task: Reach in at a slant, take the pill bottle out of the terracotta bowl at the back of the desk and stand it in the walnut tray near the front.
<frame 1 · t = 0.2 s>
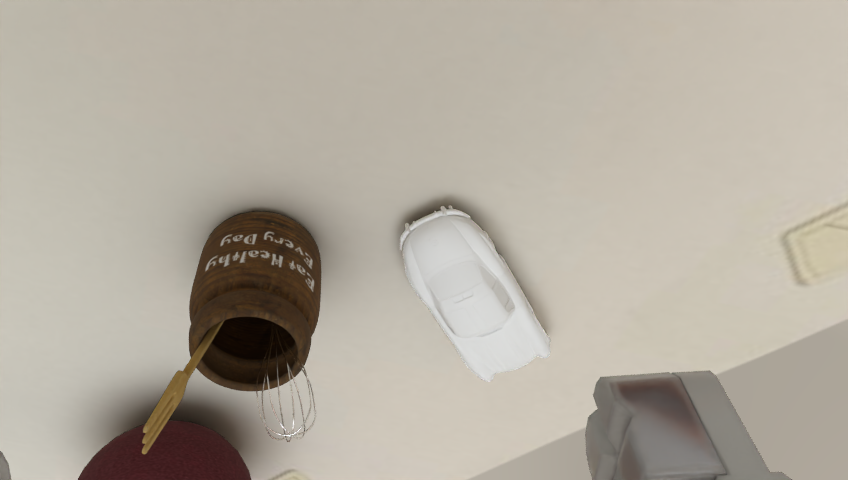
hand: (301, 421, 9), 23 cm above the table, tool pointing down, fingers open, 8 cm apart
decorative ball: (181, 436, 44), on the table
toy car: (471, 282, 38), on the table
utensil holder: (261, 251, 36), on the table
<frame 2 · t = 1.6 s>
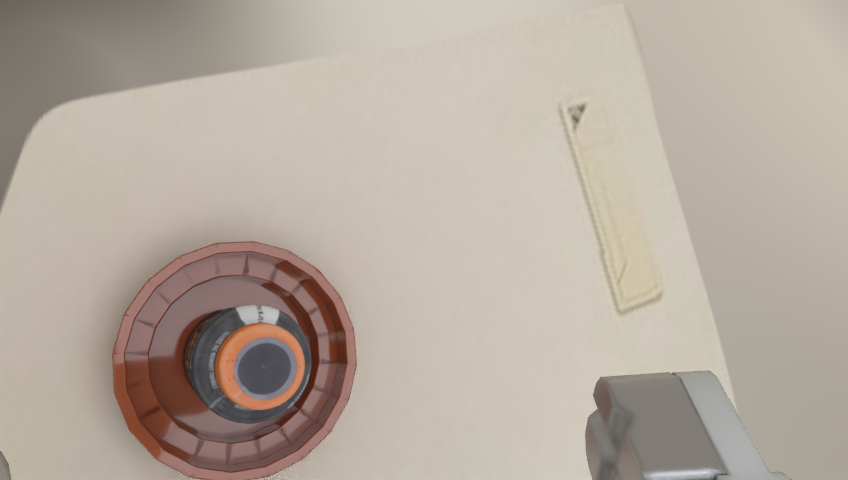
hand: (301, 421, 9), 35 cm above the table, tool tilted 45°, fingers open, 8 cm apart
pill bottle: (232, 356, 43), resting on bowl
bowl: (232, 356, 43), on the table
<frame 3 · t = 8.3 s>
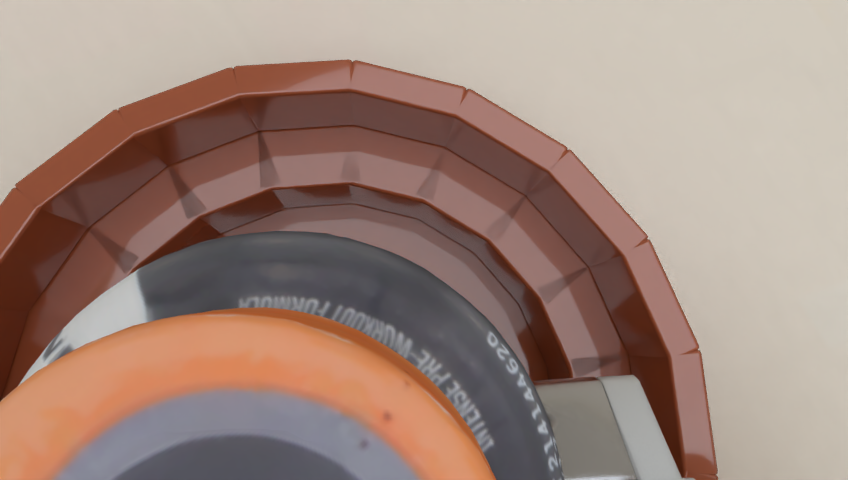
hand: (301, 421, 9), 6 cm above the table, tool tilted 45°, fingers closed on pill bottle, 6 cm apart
pill bottle: (334, 420, 15), resting on bowl, touching gripper
bowl: (335, 418, 16), on the table
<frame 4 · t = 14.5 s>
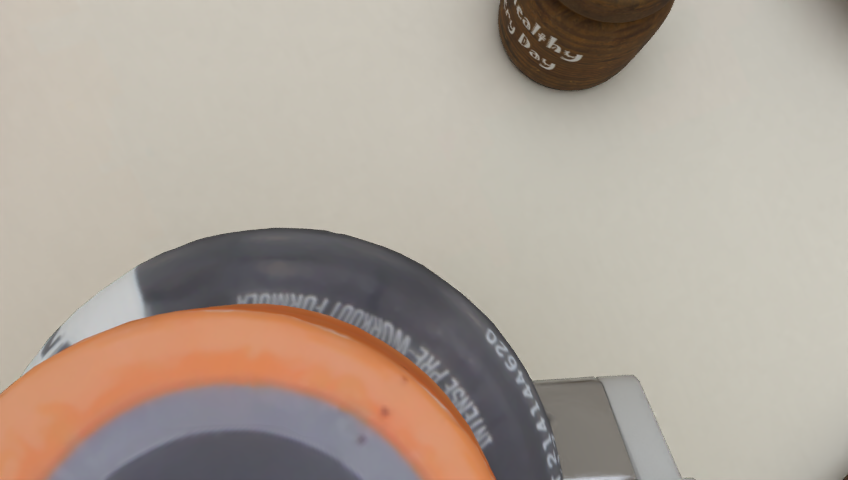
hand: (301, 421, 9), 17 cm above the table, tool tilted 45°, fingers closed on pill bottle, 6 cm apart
pill bottle: (334, 419, 15), point 11 cm above the table, touching gripper
utensil holder: (565, 32, 29), on the table
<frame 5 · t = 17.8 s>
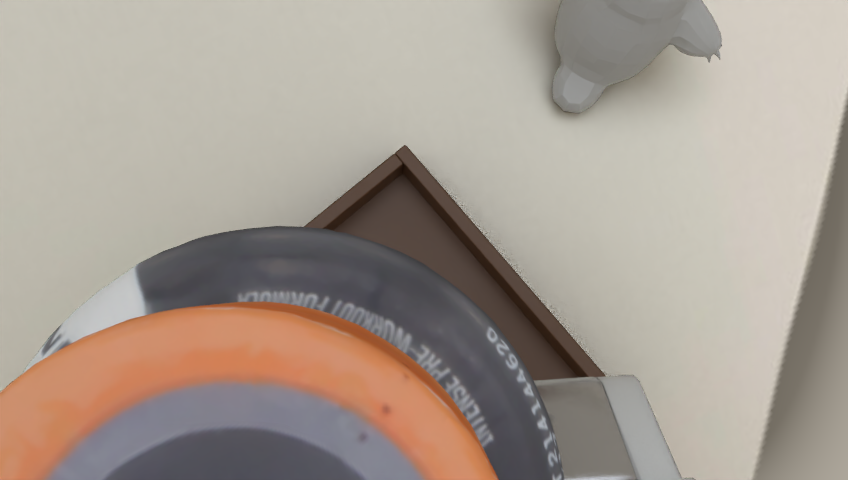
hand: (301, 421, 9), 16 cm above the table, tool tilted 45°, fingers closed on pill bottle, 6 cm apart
tray: (383, 404, 25), on the table
figurine: (589, 55, 28), on the table
pill bottle: (334, 418, 15), point 10 cm above the table, touching gripper
when the fingers open (6 cm above the table, at t = 21.0 s): pill bottle stays where it is, resting on tray.
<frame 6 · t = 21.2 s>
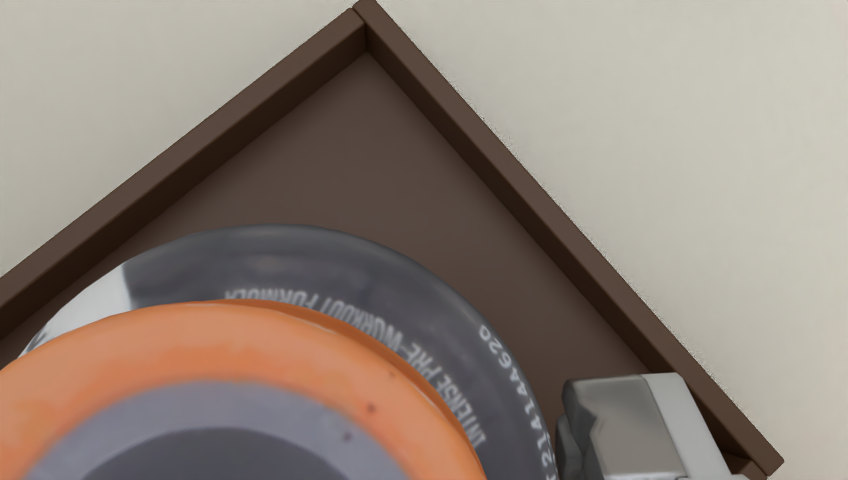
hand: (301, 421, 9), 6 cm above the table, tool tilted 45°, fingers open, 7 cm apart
tray: (336, 419, 16), on the table
pill bottle: (330, 418, 15), resting on tray
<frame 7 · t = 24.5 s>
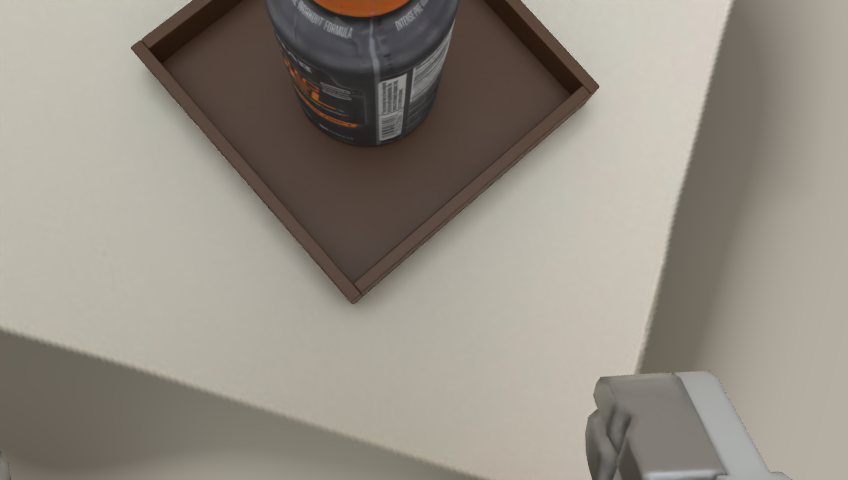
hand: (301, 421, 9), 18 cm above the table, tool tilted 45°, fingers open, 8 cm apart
tray: (370, 85, 29), on the table
pill bottle: (367, 81, 29), resting on tray
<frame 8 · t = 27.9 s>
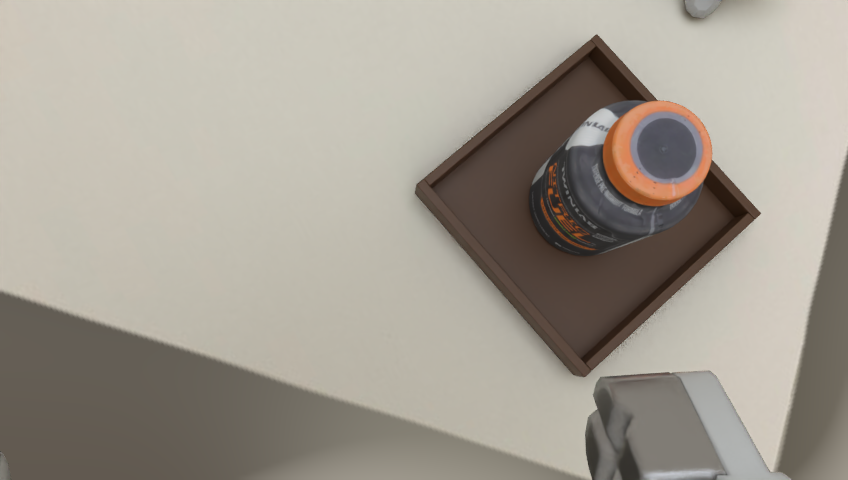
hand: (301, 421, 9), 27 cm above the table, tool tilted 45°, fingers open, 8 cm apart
tray: (580, 206, 38), on the table
pill bottle: (580, 204, 38), resting on tray
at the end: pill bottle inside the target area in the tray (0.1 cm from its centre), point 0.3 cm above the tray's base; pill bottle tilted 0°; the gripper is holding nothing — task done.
